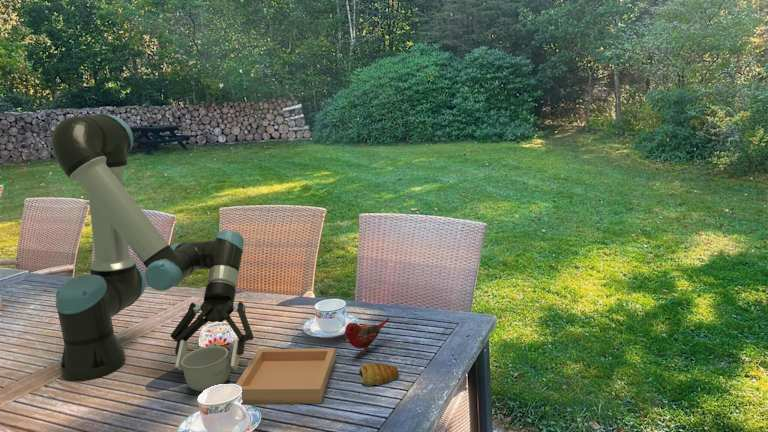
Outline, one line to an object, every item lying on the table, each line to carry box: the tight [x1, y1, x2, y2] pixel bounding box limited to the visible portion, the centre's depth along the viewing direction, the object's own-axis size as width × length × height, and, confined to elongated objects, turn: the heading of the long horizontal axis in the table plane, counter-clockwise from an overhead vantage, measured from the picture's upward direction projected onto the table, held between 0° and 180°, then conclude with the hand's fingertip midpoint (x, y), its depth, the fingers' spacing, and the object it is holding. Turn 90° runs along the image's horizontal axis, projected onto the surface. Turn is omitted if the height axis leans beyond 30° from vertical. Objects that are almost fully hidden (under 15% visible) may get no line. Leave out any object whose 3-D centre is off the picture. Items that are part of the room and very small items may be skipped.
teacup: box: [181, 342, 231, 393], centre depth 137 cm, size 14×11×8 cm
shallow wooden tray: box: [235, 347, 337, 404], centre depth 136 cm, size 20×20×4 cm
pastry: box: [358, 362, 399, 387], centre depth 135 cm, size 9×7×4 cm
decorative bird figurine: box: [343, 317, 390, 356], centre depth 150 cm, size 3×18×10 cm, turn 139°
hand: (206, 368), depth 135 cm, fingers open, 13 cm apart
